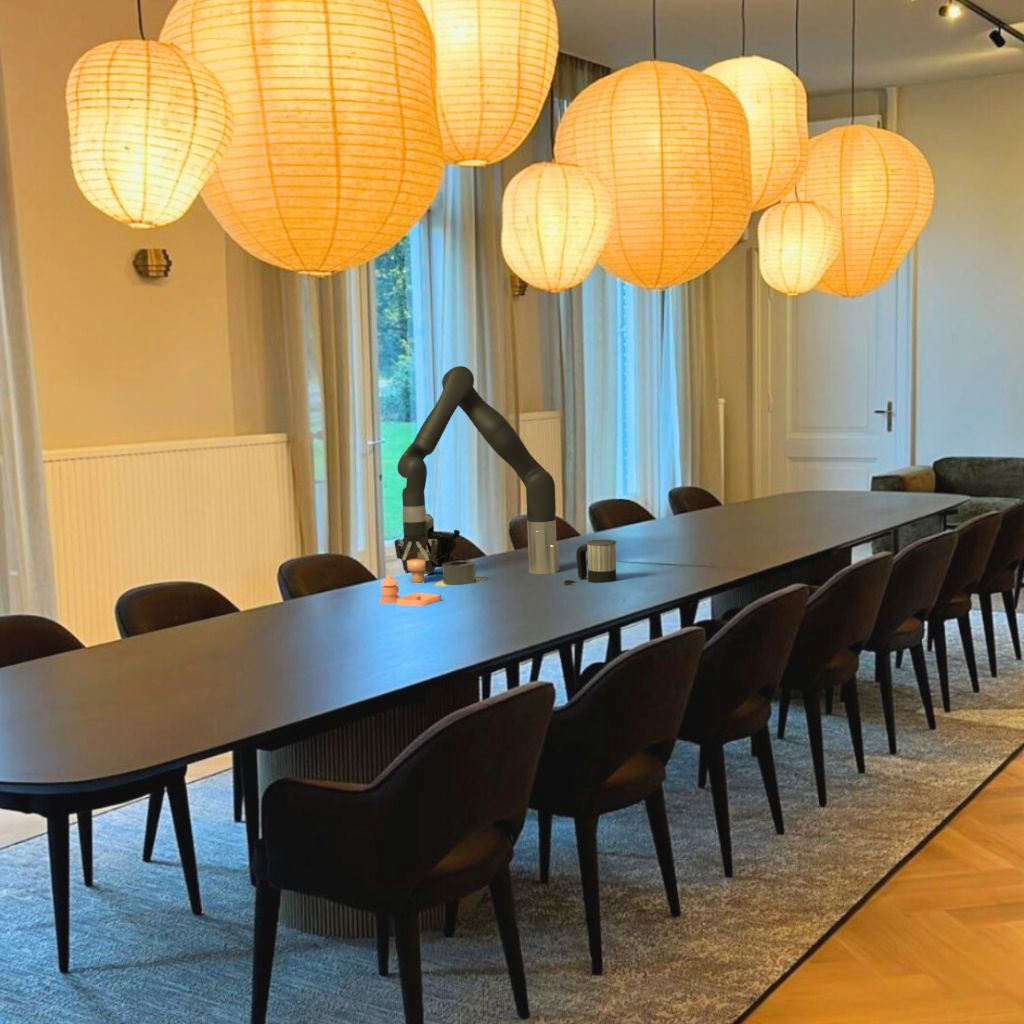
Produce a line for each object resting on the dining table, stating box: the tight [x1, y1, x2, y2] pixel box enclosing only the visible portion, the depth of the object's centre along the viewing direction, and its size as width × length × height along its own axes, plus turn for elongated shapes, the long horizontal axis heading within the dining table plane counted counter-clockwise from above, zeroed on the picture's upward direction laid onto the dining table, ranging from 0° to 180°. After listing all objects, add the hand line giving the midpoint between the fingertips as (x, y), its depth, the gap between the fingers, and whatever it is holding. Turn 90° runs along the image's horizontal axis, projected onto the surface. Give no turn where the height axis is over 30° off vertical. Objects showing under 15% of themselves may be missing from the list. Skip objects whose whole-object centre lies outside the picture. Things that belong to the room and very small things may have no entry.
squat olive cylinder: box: [441, 560, 477, 586], centre depth 413 cm, size 10×10×6 cm
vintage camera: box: [417, 513, 470, 575], centre depth 435 cm, size 10×15×20 cm, turn 78°
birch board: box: [431, 577, 488, 587], centre depth 414 cm, size 14×14×2 cm
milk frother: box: [563, 538, 618, 587], centre depth 398 cm, size 14×16×15 cm
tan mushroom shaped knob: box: [407, 557, 426, 584], centre depth 417 cm, size 6×6×8 cm
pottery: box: [379, 574, 442, 607], centre depth 382 cm, size 18×10×10 cm, turn 59°
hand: (417, 571), depth 417 cm, fingers closed on tan mushroom shaped knob, 6 cm apart
